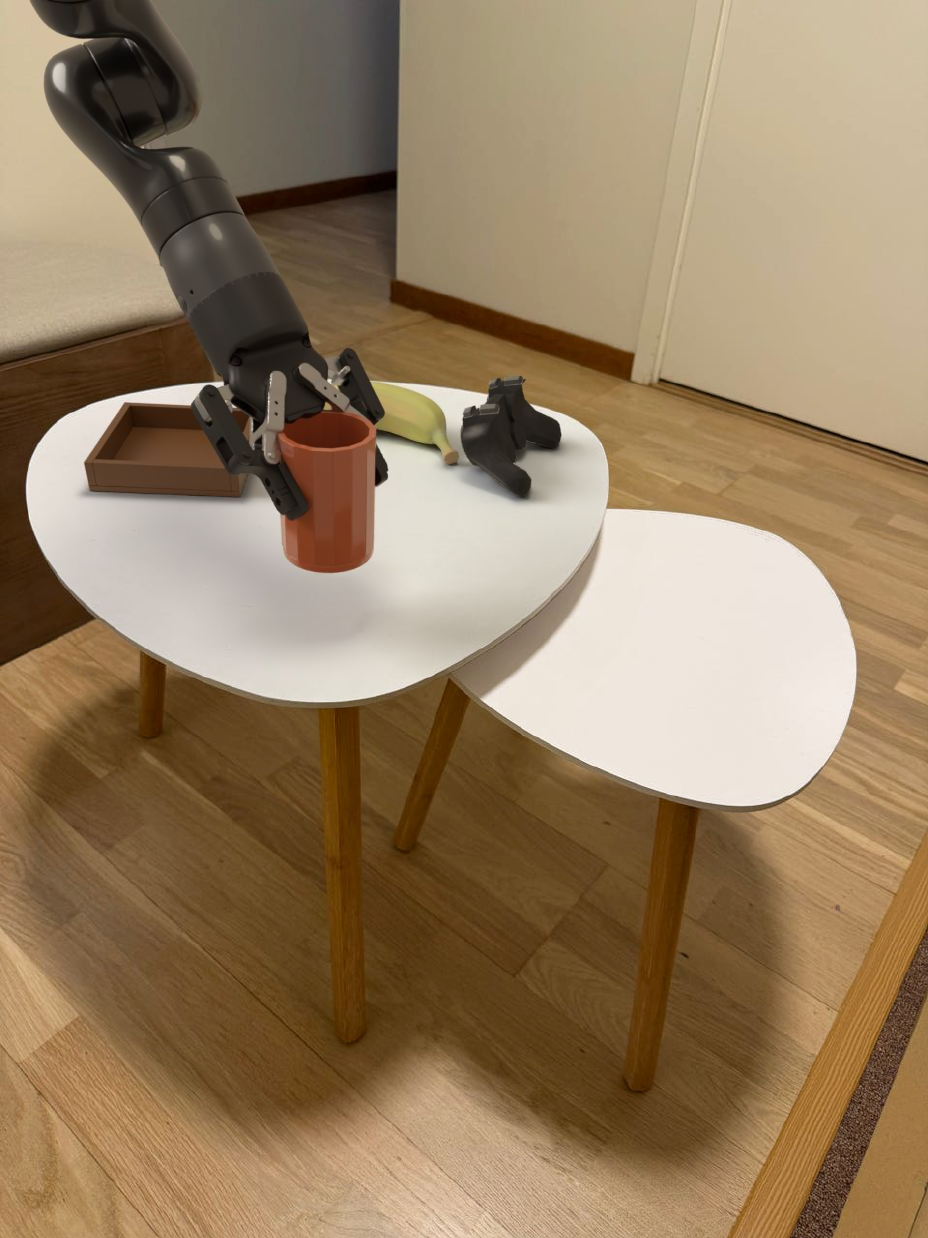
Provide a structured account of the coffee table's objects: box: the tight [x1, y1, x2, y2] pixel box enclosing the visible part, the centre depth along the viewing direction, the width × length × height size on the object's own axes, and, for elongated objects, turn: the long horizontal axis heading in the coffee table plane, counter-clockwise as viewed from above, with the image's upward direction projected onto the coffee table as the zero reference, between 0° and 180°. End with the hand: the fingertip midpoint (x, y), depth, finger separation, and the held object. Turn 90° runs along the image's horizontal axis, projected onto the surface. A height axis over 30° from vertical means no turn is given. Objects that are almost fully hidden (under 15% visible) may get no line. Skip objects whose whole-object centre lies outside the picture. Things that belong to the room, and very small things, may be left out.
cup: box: [277, 410, 377, 574], centre depth 66 cm, size 7×7×10 cm
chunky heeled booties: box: [460, 375, 562, 498], centre depth 97 cm, size 16×7×10 cm, turn 161°
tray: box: [83, 401, 252, 498], centre depth 93 cm, size 15×15×3 cm
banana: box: [324, 381, 460, 465], centre depth 99 cm, size 14×6×20 cm
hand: (341, 499), depth 66 cm, fingers closed on cup, 7 cm apart
